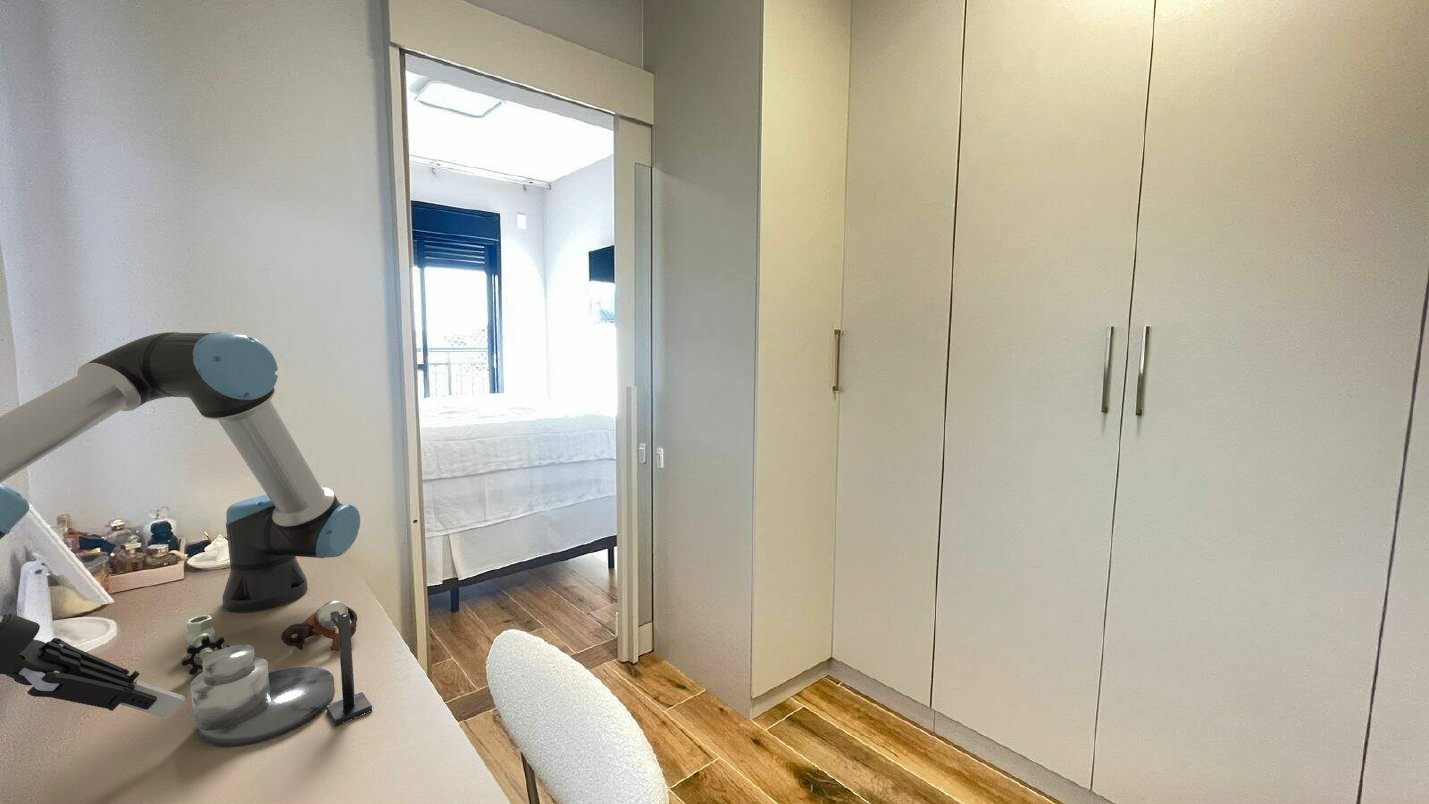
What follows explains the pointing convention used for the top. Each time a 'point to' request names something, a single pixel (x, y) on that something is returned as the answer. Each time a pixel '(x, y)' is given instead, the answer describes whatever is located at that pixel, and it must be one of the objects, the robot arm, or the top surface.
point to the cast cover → (230, 688)
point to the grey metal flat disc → (280, 707)
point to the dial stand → (343, 665)
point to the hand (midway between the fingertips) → (176, 707)
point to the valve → (200, 641)
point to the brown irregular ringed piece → (315, 631)
